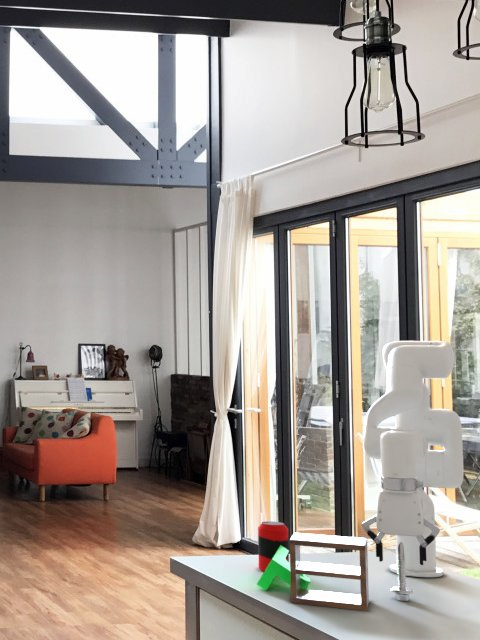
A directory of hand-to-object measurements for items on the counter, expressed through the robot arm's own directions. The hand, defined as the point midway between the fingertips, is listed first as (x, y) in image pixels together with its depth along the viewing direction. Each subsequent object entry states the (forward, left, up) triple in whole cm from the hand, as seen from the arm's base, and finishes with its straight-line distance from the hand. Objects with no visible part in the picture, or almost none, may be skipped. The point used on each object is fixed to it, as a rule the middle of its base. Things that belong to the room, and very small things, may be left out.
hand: (401, 561), depth 234 cm
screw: (0, 0, -9) cm, 9 cm away
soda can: (-20, -31, -9) cm, 38 cm away
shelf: (+10, -15, -8) cm, 20 cm away
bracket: (-5, -26, -9) cm, 28 cm away
